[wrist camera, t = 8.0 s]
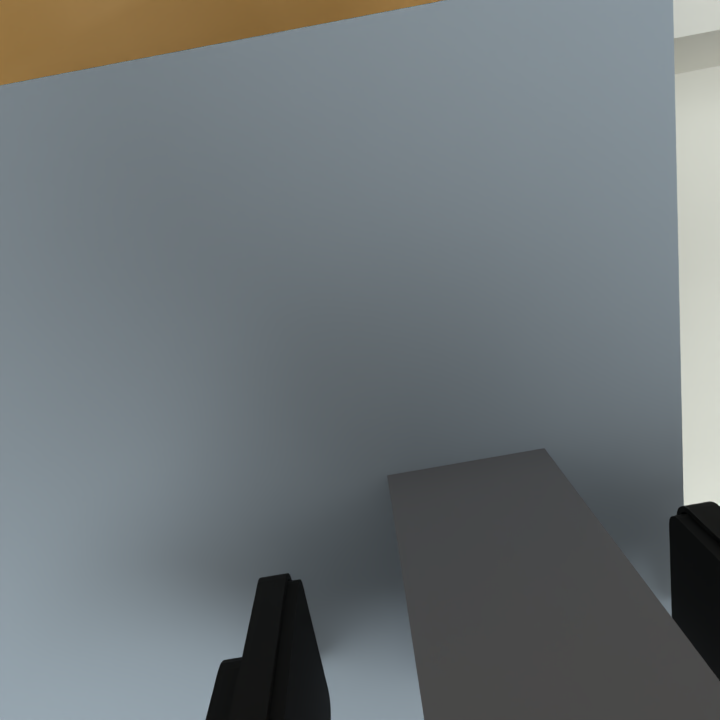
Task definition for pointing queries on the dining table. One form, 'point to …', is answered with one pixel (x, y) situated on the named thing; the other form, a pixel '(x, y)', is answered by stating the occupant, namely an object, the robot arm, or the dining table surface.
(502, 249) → the carton lid
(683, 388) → the carton
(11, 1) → the dining table surface
